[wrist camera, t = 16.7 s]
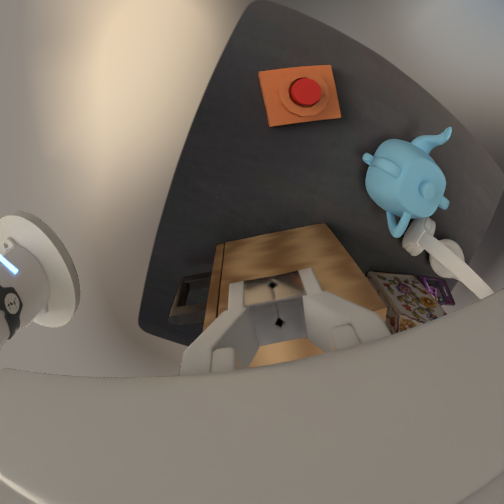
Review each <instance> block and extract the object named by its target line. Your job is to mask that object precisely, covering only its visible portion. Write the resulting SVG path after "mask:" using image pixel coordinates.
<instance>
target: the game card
mask: <svg viewBox="0 0 504 504" xmlns="http://www.w3.org/2000/svg"><path fill="white" fill-rule="evenodd" d="M418 278H419V280H420V282H421V284H422V285H423V286H424V284H423V281H422V279H423V280H424V283H425V286H426V289H427V290H428V292H429V293H430V294H431V295H432V296H433V297H434V299H435V300H436V301H437V302H438V303H439V304H441V305H453V306H454V305H455V302H454V299H453V297H452V295H451V292H450V290H449V288H448V285H447V283H446V281H445V280H442V279H437V278H431V277H426V276H419V277H418ZM421 278H422V279H421ZM426 279H428V280H434V281H436V282H437V285H438V287H439V289H440V292H441V294H442V297H443V299H444V302H445V303H444V302H443V299H442V298H441V297H438V298H437V289H436V288H435V287H432V286H431V287H430V286H428V283H427V281H426ZM425 286H424V287H425ZM439 301H440V302H439Z"/></svg>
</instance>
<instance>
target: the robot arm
mask: <svg viewBox="0 0 504 504" xmlns="http://www.w3.org/2000/svg"><path fill="white" fill-rule="evenodd" d="M49 297H50V285H49V281H48V278H47V275H46V273H45V271H44V269H43V267H42V266H41V264H40V263H39V261H38V260H37V259H36V258H35V256H34V255H33V254H32V253H30V252H29V251H28V250H27V249H25V248H23V247H21V246H19V245H18V244H17V243H16V242H15V241H14V239H12V238H11V237H8V238H7V239H6V240H5V241H4V242H3V243H2V244H1V246H0V349H1V348H2V346H3V345H4V344H5V342H6V340H8V339H10V338H11V337H12V336H13V335H14V334H15V333H16V331H17V330H18V328H19V327H27V326H28V325H29V324H30V323H31V322H32V321H33V320H34V318H35V317H36V316H37V315H38V314H46V313H47V312H48V305H47V302H48V299H49ZM306 337H307V338H308V339H309V340H310V341H311V342H312V343H314V344H315V345H316V346H317V347H319V348H320V349H321V350H322V351H324V352H325V353H324V354H320V355H316V356H311V357H307V358H302V359H297V360H292V361H287V362H282V363H276V364H270V365H265V366H258V367H252V368H248V367H249V365H250V363H251V362H252V360H253V358H254V357H255V355H256V353H257V351H258V350H259V348H260V347H259V346H264V345H269V344H274V343H279V342H283V341H289V340H295V339H300V338H306ZM0 504H504V288H503V289H501V290H499V291H497V292H496V293H493V294H491V295H489V296H487V297H485V298H483V299H481V300H479V301H477V302H475V303H472V304H470V305H468V306H466V307H464V308H461V309H459V310H457V311H454V312H452V313H449V314H447V315H445V316H442V317H440V318H437V319H435V320H432V321H429V322H427V323H424V324H421V325H419V326H416V327H413V328H410V329H407V330H404V331H401V332H398V333H395V334H392V335H391V333H390V331H389V330H388V328H387V326H386V325H385V323H384V321H383V320H382V318H381V316H380V315H379V314H378V313H375V312H373V311H371V310H369V309H366V308H364V307H362V306H360V305H358V304H355V303H353V302H351V301H349V300H347V299H344V298H342V297H340V296H338V295H336V294H333V293H331V292H329V291H323V290H322V288H321V286H320V284H319V281H318V279H317V277H316V275H315V273H314V271H313V268H311V267H310V268H306V269H301V270H297V271H293V272H289V273H284V274H280V275H275V276H269V277H263V278H257V279H252V280H246V281H239V282H235V283H230V285H229V297H228V310H225V311H223V312H222V313H221V314H220V315H219V316H218V317H217V318H216V319H215V320H214V321H213V322H212V323H211V324H210V325H209V326H208V327H207V328H206V329H205V330H204V332H203V333H202V334H201V335H200V336H199V337H198V338H197V339H196V340H195V341H194V342H193V343H192V344H191V345H190V346H189V347H188V348H187V349H186V350H185V351H184V352H183V356H182V361H181V366H180V372H179V376H163V377H129V378H128V377H126V378H123V377H122V378H119V377H113V378H112V377H84V376H68V375H55V374H46V373H37V372H30V371H22V370H16V369H11V368H4V369H2V370H0Z"/></svg>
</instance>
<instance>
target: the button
mask: <svg viewBox="0 0 504 504" xmlns="http://www.w3.org/2000/svg"><path fill="white" fill-rule="evenodd" d="M291 96H292V98H293V100H294V101H295V102H296V103H298V104H300V105H304V106H307V105H311V104H314V103H316V102H317V101H318V100H319V99H320V97H321V88H320V86H319V85H318V83H317V82H316V81H314V80H312V79H309V78H302V79H300V80H298V81H297V82H295V83H294V84H293V85H292V87H291Z"/></svg>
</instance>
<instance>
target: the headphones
mask: <svg viewBox="0 0 504 504" xmlns="http://www.w3.org/2000/svg"><path fill="white" fill-rule="evenodd" d="M435 228H436V225H435V222H434V221H433V220H431V219H430V218H429V217H426V218H417V219H415V220H414V221H413V222H412V223H411V225H410V226H409V228H408V229H407V231H406V233H405V235H404V237H403V242H402V247H403V248H405V250H406V251H407V252H409V253H410V254H411V255H412V256H417V255H418V254H420V253H421V252H422V251H423V250H424V249H425V250H426V251H427V252H428V253H429V254H430V255H429V261H430V265H431V267H432V269H433V271H434V272H435V273H436V274H437V275H439V276H441V277H444V278H454V279H457V280H459V281H462V282H463V283H464V284H465V285H466V286H467V287H468V288H469V289H470V290H471V291H472V292H473V293H474V294H475V295H477V297H479V298H480V299H483V298H485V297H487V296H489V295H491V294H493V293H494V292H493V291H492V290H491V289H490V287H489V286H488V285H487V284H486V283H485V282H484V281H483V280H482V279H481V278H480V277H479V276H478V275H477V274H476V273H475V272H474V271H473V270H472V269H471V268H470V267H469V266H468V265H467V264H466V263H465V262H464V255H463V252H462V250H461V248H460V246H459V245H458V244H457V243H456V242H454V241H452V240H449V239H442V240H439V241H438V240H437V239H436V238H434V237H433V235H434V232H435Z"/></svg>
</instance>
